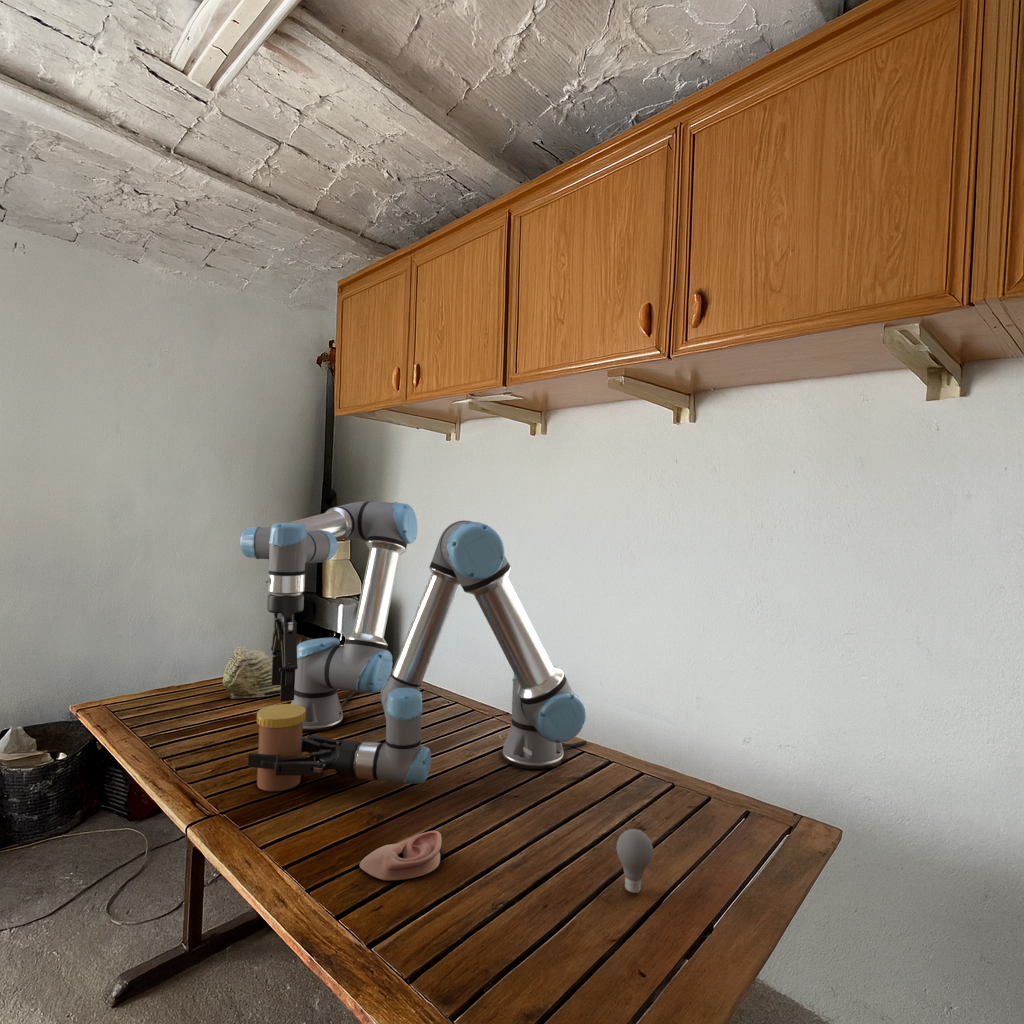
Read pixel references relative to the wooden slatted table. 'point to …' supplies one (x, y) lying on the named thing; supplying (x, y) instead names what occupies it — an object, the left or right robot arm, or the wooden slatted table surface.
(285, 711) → the lid
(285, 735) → the jar
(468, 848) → the wooden slatted table surface
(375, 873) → the anatomical model
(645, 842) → the light bulb
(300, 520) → the left robot arm
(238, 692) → the fossil
